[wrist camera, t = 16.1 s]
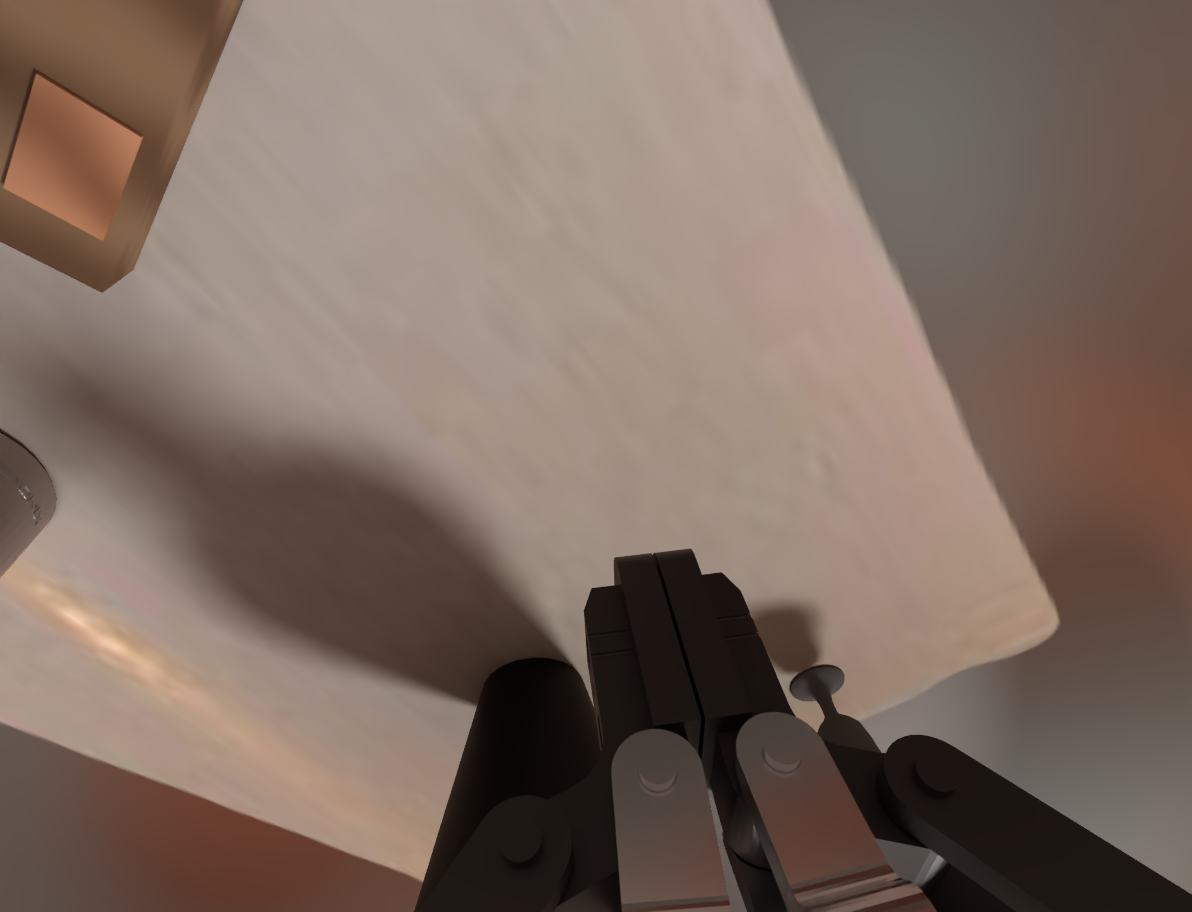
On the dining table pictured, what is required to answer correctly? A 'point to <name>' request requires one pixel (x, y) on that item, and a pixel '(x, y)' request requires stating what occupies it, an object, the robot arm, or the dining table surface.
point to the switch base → (98, 122)
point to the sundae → (831, 708)
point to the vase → (517, 750)
